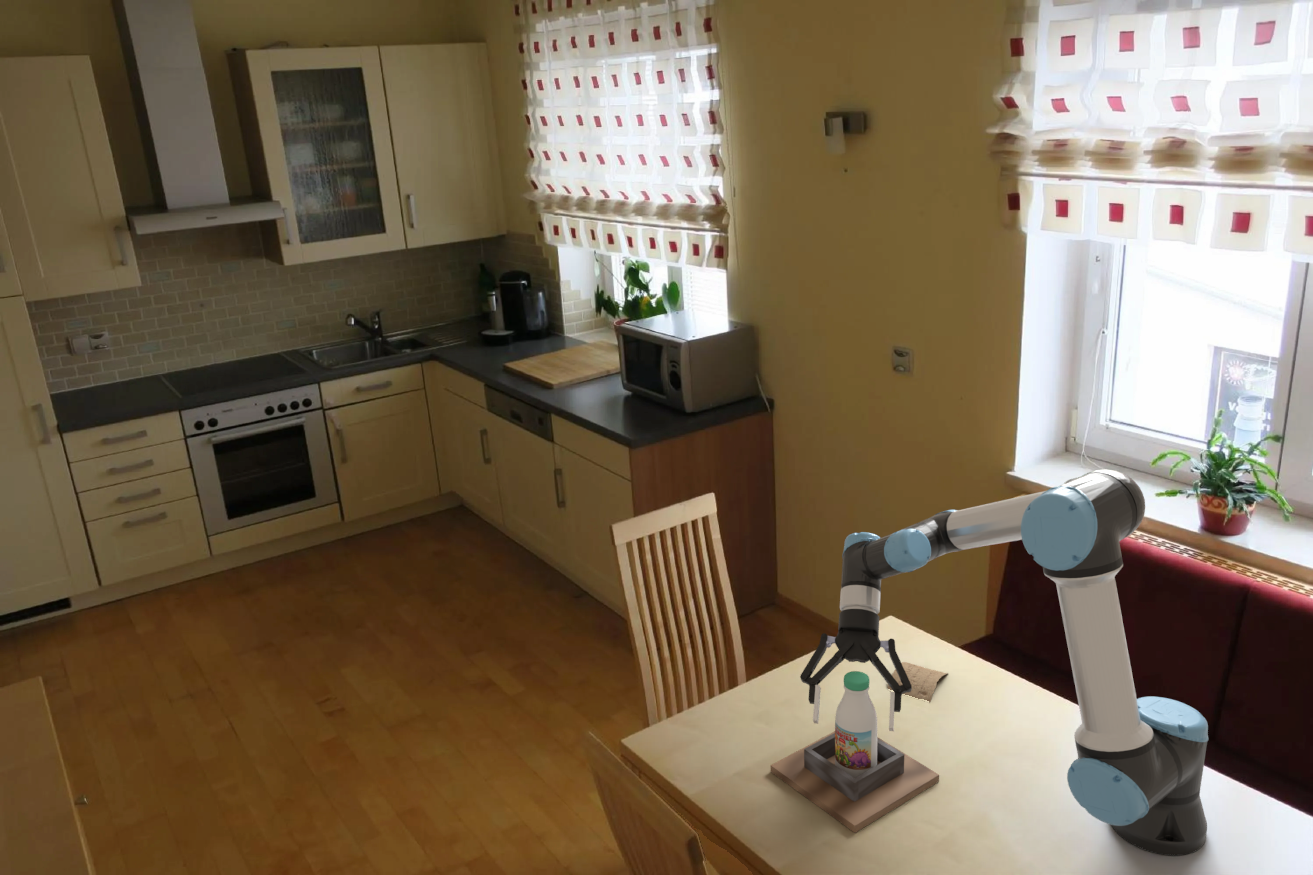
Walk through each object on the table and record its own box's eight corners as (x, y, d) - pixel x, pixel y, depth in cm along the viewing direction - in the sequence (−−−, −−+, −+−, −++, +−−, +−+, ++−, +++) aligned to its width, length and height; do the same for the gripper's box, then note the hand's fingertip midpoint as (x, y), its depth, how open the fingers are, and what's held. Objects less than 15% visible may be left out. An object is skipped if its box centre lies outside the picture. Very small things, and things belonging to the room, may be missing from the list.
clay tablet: (930, 706, 213) (930, 695, 212) (883, 694, 218) (883, 683, 217) (950, 673, 225) (951, 663, 224) (906, 662, 230) (906, 652, 229)
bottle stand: (938, 781, 189) (939, 756, 188) (854, 832, 177) (855, 806, 176) (852, 727, 206) (852, 704, 205) (770, 771, 195) (770, 747, 193)
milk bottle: (847, 752, 197) (847, 661, 190) (884, 766, 192) (885, 673, 186) (827, 773, 191) (827, 679, 185) (864, 788, 186) (865, 693, 180)
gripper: (926, 623, 195) (923, 736, 186) (796, 613, 201) (786, 722, 192) (927, 611, 188) (923, 728, 179) (792, 602, 195) (782, 714, 186)
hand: (853, 725), depth 186 cm, fingers open, 13 cm apart
